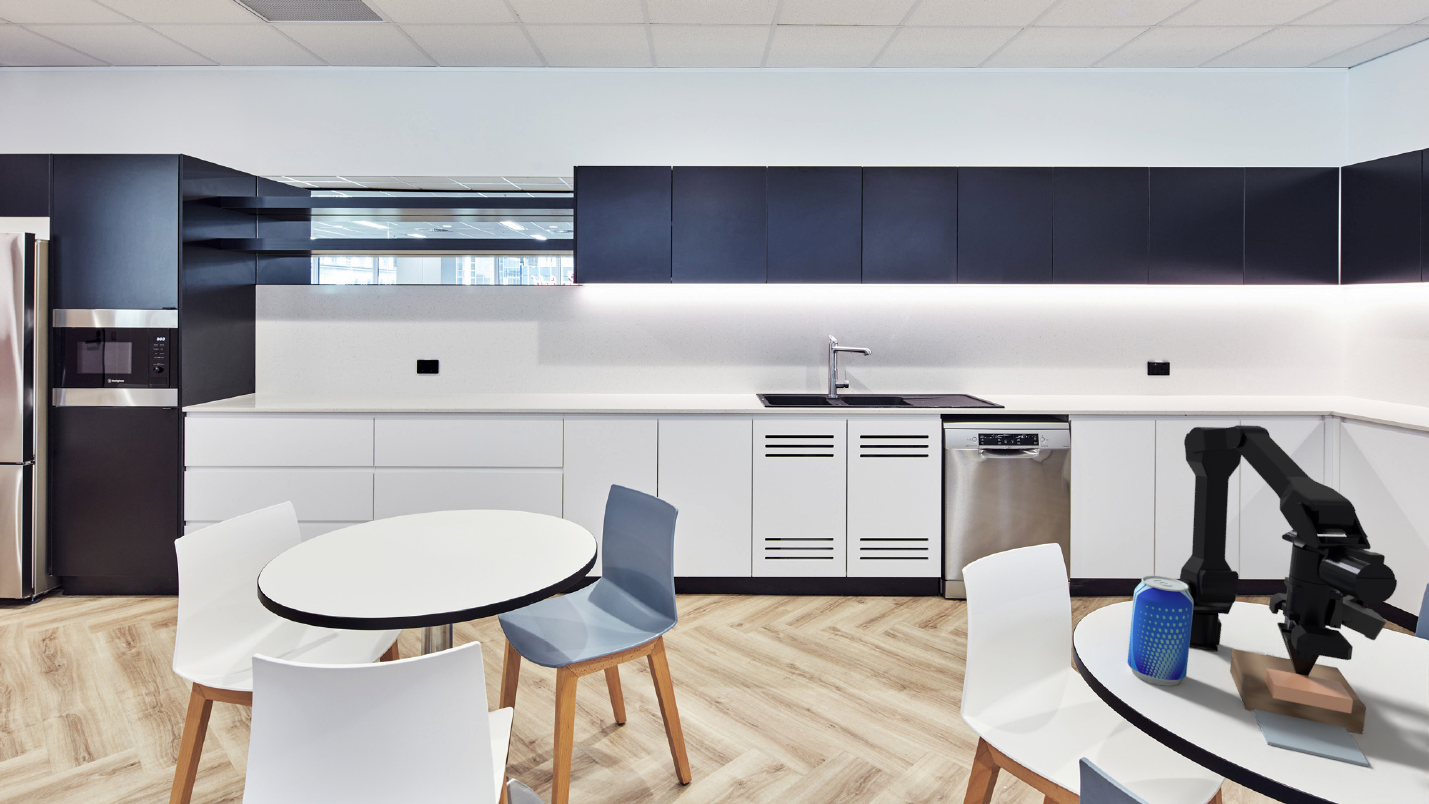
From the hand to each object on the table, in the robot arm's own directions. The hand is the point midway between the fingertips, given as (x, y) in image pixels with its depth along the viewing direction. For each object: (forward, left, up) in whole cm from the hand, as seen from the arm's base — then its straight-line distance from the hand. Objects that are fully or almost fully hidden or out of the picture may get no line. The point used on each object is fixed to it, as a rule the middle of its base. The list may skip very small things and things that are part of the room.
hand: (1301, 678), depth 114 cm
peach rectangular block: (0, -4, -1) cm, 4 cm away
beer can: (-19, +2, -5) cm, 19 cm away
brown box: (0, +4, -5) cm, 6 cm away
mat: (-1, -8, -5) cm, 10 cm away
